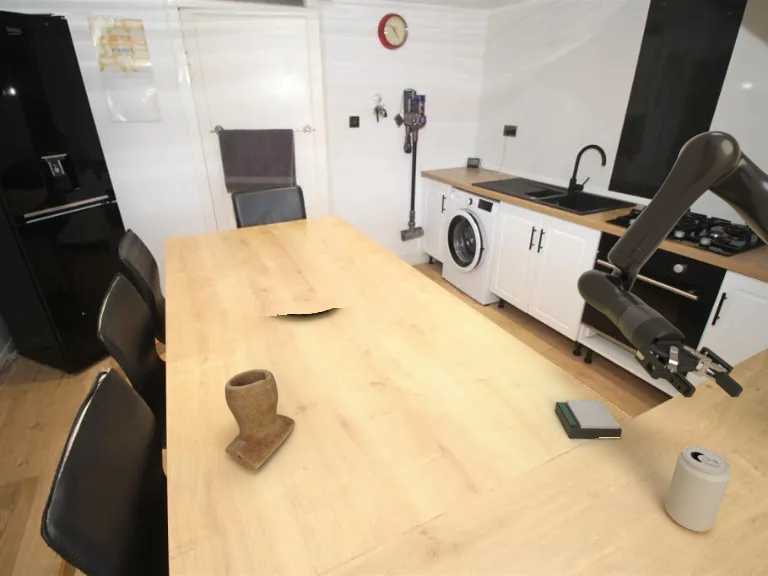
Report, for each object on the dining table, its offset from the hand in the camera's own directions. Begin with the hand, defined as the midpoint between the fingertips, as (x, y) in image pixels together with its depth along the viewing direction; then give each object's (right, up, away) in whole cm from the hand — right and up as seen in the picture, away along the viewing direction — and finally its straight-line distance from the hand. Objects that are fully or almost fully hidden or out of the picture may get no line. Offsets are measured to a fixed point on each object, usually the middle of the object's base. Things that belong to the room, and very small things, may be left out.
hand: (715, 393), depth 65 cm
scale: (-10, -12, +22) cm, 27 cm away
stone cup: (-79, -16, +20) cm, 83 cm away
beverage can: (-4, -20, +1) cm, 21 cm away
